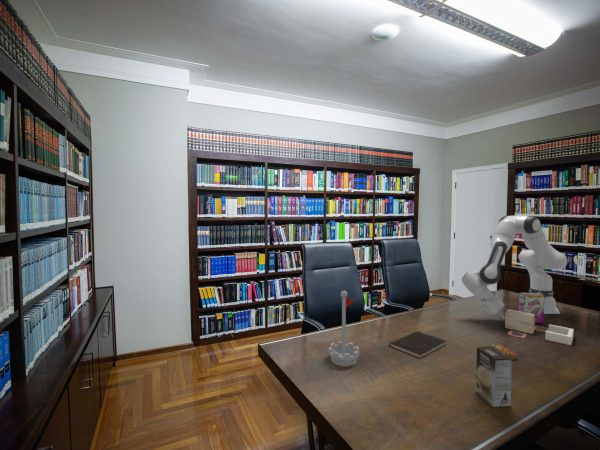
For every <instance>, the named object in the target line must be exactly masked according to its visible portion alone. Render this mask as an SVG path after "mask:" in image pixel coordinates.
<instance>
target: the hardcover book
mask: <svg viewBox="0 0 600 450" xmlns="http://www.w3.org/2000/svg"><path fill="white" fill-rule="evenodd" d="M446 344H447V340H445V339H443V338H439V337H436V336H434V335H430V334H428V333H424V332H421V331H419V330H416V331H414V332H412V333H409V334H407V335H404V336H402V337H400V338H397V339H395V340H393V341H391V342H389V347H392V348H394V349H397V350H399V351H402V352H405V353H407V354H409V355H412V356H414V357H417V358H419V359H420V358H423V357H425V356H426V355H428V354H431V353H432V352H434V351H436V350H437V349H439V348H441V347H443V346H446Z"/></svg>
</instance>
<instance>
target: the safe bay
mask: <svg viewBox="0 0 600 450" xmlns="http://www.w3.org/2000/svg"><path fill="white" fill-rule="evenodd" d="M548 328H549V331H546V332H545V340H546V341H551V342H555V343H559V344H563V345H568V346H572V345H573V339H574V333H575V332H574V331H575V329H574V328H569V327H565V326H561V325H560V326H559V325H554V324H548Z"/></svg>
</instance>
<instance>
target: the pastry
mask: <svg viewBox="0 0 600 450" xmlns="http://www.w3.org/2000/svg"><path fill="white" fill-rule="evenodd" d="M492 346H494V347H495V348H497V349H498V350H500V351H501V352H503V353H504V354H506V355H508V356H509V357H511V358H512V361H513V360H517V357H518V355H517V353H516V352H514V351H513V350H511V349H509V348H507V347H506V346H502V345H498V344H496V343H494V344H492Z"/></svg>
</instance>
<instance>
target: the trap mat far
mask: <svg viewBox="0 0 600 450" xmlns="http://www.w3.org/2000/svg"><path fill="white" fill-rule="evenodd" d="M535 330H536V331H540V332H544V333H546V331H549V327H544V326H539V325H535ZM535 330H534V331H535Z"/></svg>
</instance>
